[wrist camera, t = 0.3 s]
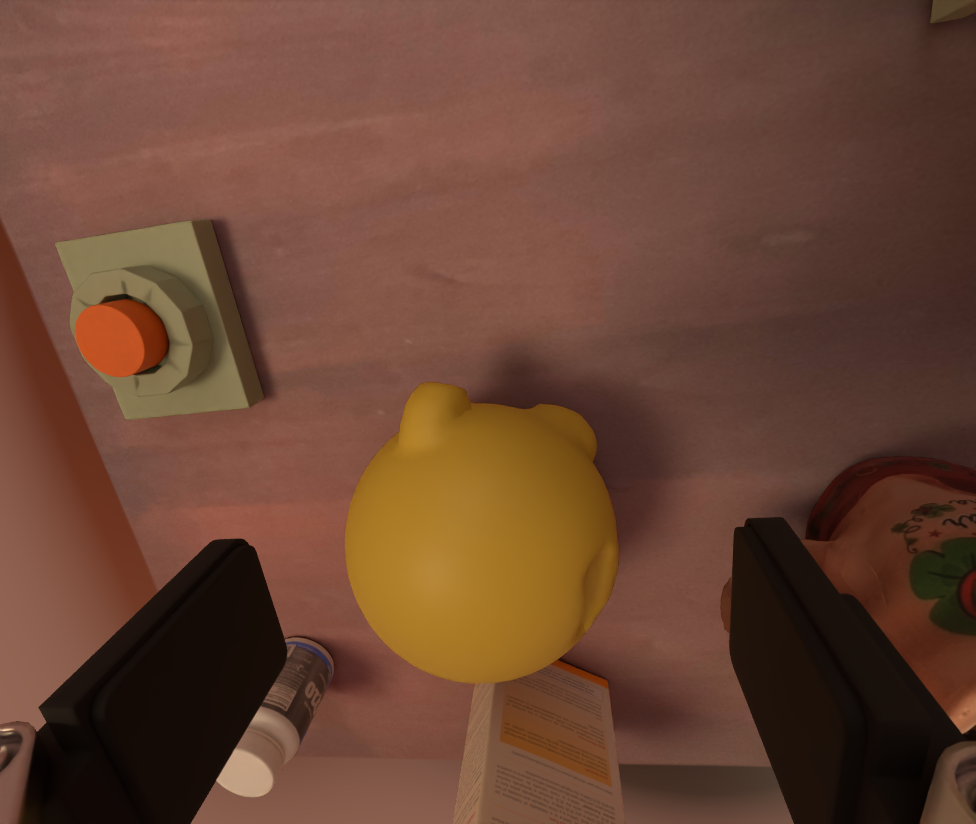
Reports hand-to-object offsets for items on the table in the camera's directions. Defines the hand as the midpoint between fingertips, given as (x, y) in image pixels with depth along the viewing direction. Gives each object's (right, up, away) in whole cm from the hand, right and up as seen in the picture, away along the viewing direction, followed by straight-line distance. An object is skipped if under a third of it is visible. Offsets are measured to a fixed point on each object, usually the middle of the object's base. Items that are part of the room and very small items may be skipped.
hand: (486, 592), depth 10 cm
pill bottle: (-13, -15, +28) cm, 35 cm away
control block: (-18, +9, +20) cm, 28 cm away
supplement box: (+4, -15, +26) cm, 30 cm away
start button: (-18, +8, +17) cm, 26 cm away
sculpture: (0, 0, +21) cm, 21 cm away
